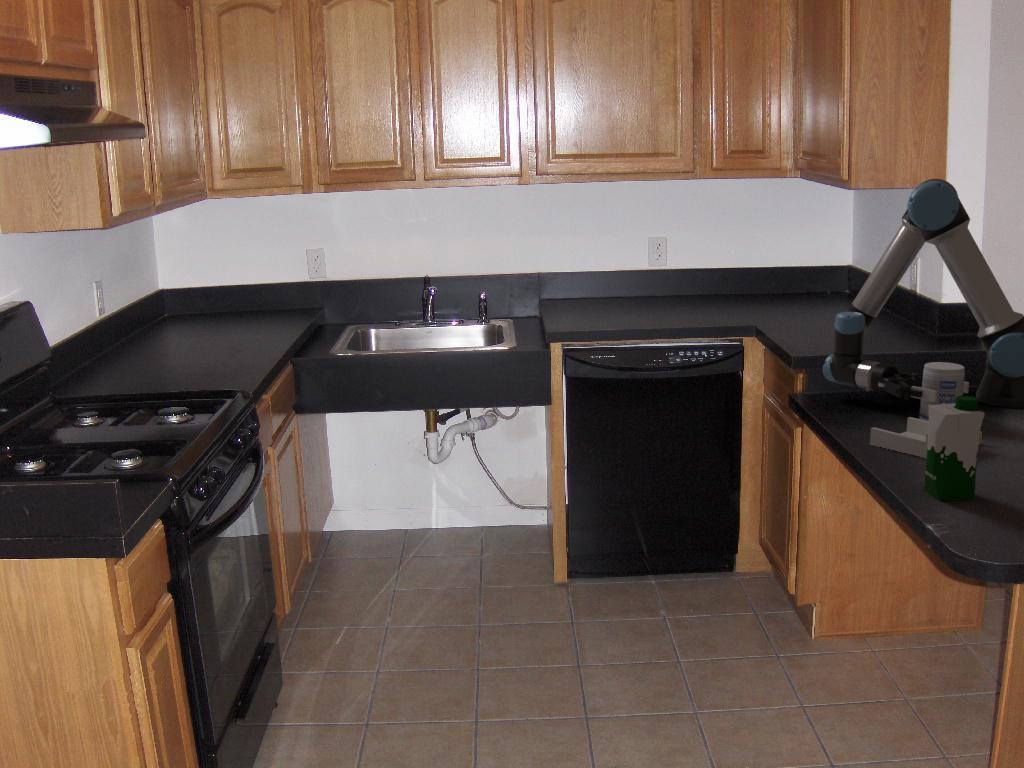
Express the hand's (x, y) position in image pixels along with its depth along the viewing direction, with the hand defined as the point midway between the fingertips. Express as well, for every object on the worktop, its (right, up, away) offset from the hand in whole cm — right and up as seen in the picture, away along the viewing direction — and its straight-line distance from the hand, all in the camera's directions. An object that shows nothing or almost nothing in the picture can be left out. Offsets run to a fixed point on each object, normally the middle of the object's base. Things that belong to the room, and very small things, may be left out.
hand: (952, 392), depth 255 cm
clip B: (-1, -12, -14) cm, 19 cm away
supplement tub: (-1, -8, +4) cm, 9 cm away
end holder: (-14, -12, -14) cm, 23 cm away
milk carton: (-20, -21, -46) cm, 54 cm away
